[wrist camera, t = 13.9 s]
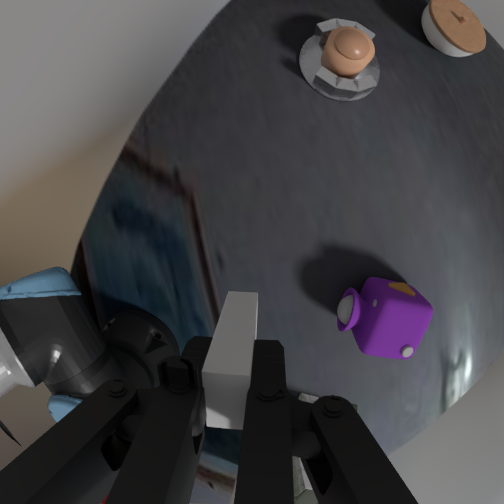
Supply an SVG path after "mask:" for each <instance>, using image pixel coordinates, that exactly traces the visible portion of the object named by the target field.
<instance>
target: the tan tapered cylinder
mask: <svg viewBox="0 0 504 504" xmlns="http://www.w3.org/2000/svg"><path fill="white" fill-rule="evenodd" d="M374 53H375V49H374V45H373V42H372V40H371V39H370V38H369V36H368V35H367V34H365V33H364V32H363V31H361V30H359V29H357V28H354V27H350V26H342V27H338V28H336V29H334V30H333V31H332V32H331V33H330V35H329V37H328V39H327V42H326V45H325V47H324V50H323V53H322V55H321V66H323V67H324V68H326V69H327V70H329V71H331V72H332V73H334V74H335V75H337V76H338V77H340V78H346V79H352V80H353V79H355V78H356V77H357V76H358V75H359V74H360V72H361V71H362V70H363V69H364V68H365V67H366V66H367V64H368V63H369V62H370V61H371V60H372V59H373V57H374Z"/></svg>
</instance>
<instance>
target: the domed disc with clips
mask: <svg viewBox="0 0 504 504" xmlns="http://www.w3.org/2000/svg"><path fill="white" fill-rule="evenodd" d="M342 26H350V27H354V28H357V29H359V30H361V31H363V32H364V33H365V34H367V35H368V36H369V38H370V39H371V40H372V39H373V37H374V36H375V34H374V33H372V32H371V31H369V30H368V29H367V28H365V27H363V26H362V25H360V24H359V23H357V22H353V21H348V20H342V19H336V18H335V19H331V20H328V21H324V22H321V23H317V24H316V28H315V32H314V35H313V36H312V37H310V38H309V39H308V40H307V41H306V42H305V43H304V45H303V47H302V49H301V52H300V57H299V64H300V69H301V72H302V74H303V76H304V78H305V80H306V81H307V83H308V84H309V85H310V86H311V87H312V88H313V89H314V90H315V91H317V92H318V93H320V94H321V95H323V96H325V97H327V98H330V99H333V100H337V101H344V102H349V101H356V100H359V99H362V98H364V97H365V96H367V95H368V94H369V93H371V92H372V91H373V89H374V88H375V87H376V86H377V83H378V80H379V73H380V70H379V64H378V61H377V58H376V56H375V54H374V57H373V59H372V60H371V61H370V62H369V63H368V64H367V66H366V67H365V68H364V69H363V70H362V71H361V72H360V74H359V75H358V76H357V77H356V78H355V79H353V80H352V79H346V78H340V77H338V76H337V75H335V74H334V73H332V72H331V71H329V70H327V69H326V68H324V67H323V66H321V55H322V53H323V50H324V47H325V45H326V42H327V39H328V37H329V35H330V33H331V32H332V31H333V30H334V29H336V28H338V27H342Z"/></svg>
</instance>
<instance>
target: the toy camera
mask: <svg viewBox="0 0 504 504" xmlns="http://www.w3.org/2000/svg"><path fill="white" fill-rule="evenodd" d="M337 314H338V318H337V324H338V329H339V330H340V331H346V330H348V329H350V328H351V329H352V332H353V335H354V337H355V340H356V342H357V344H358V346H359V349H360V350H361V351H362V352H363V353H364V354H367V355H372V356H379V357H386V358H394V359H409V358H411V357H412V355H413V354H414V352H415V351H416V349H417V347H418V345H419V343H420V341H421V339H422V337H423V335H424V333H425V331H426V329H427V327H428V325H429V322H430V320H431V317H432V315H433V308H432V306H431V305H430V303H429V302H428V301H427V300H426V299H425V298H424V297H423V296H422V295H421V294H420V293H419V292H418V291H417V290H416V289H415V288H413V287H412V286H410V285H407V284H406V283H404V282H395V281H391V280H387V279H383V278H378V277H369V278H368V279H367V280H366V281H365V283H364V285H363V288H362V290H361V293H360V295H359V294H358V292H357V291H356V290H355V289H354V288H352V287H350V288H348V289H347V290H346V291H345V293H344V295H343V297H342V299H341V301H340V303H339V305H338V309H337Z"/></svg>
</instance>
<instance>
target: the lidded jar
mask: <svg viewBox="0 0 504 504" xmlns="http://www.w3.org/2000/svg"><path fill="white" fill-rule="evenodd" d="M421 22H422V28H423V31H424V33H425V36H426V38H427V39H428V41H429V42H430V43H431V45H432V46H434V47H435V48H436V49H438V50H439V51H441V52H443V53H445V54H447V55H450V56H454V57H465V56H469V55H472V54H474V53H478V52H480V51H482V50H483V49H484V47H485V45H486V35H485V31H484V29H483V26H482V24H481V23H480V21H479V19H478V18H477V16H476V15H475V14H474V13H473V12H472V11H471V9H470V8H468V7H467V6H466V5H465V4H464V3H462V2H461V1H459V0H431V1H430V2H429V4H428V5H427V6H426V7H425V9H424V11H423V14H422V20H421Z"/></svg>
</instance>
